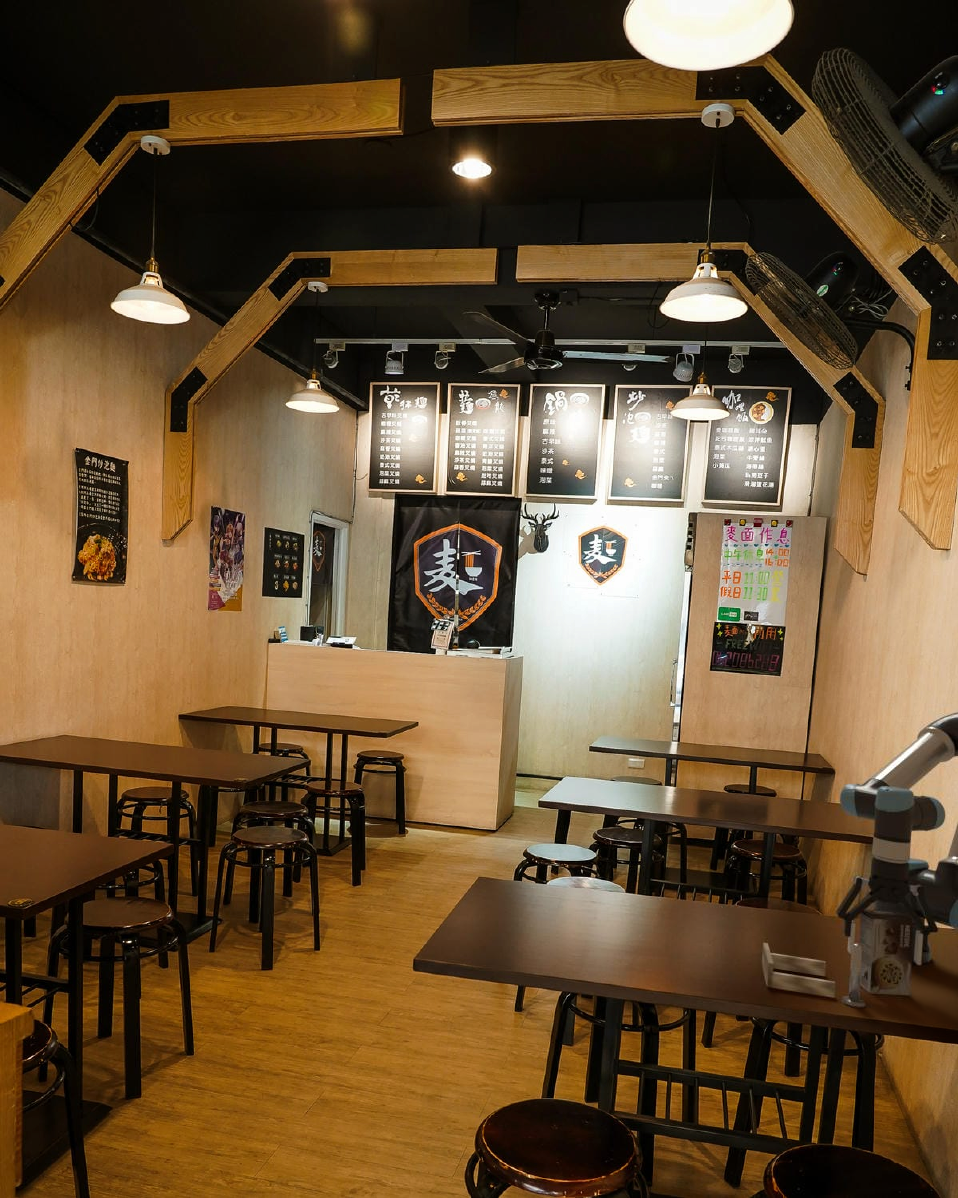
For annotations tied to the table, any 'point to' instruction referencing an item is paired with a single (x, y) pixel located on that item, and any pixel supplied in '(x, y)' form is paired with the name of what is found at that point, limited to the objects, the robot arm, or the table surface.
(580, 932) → the table surface
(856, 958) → the post
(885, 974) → the coffee box
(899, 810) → the robot arm
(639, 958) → the table surface
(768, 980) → the bay
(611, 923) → the table surface
